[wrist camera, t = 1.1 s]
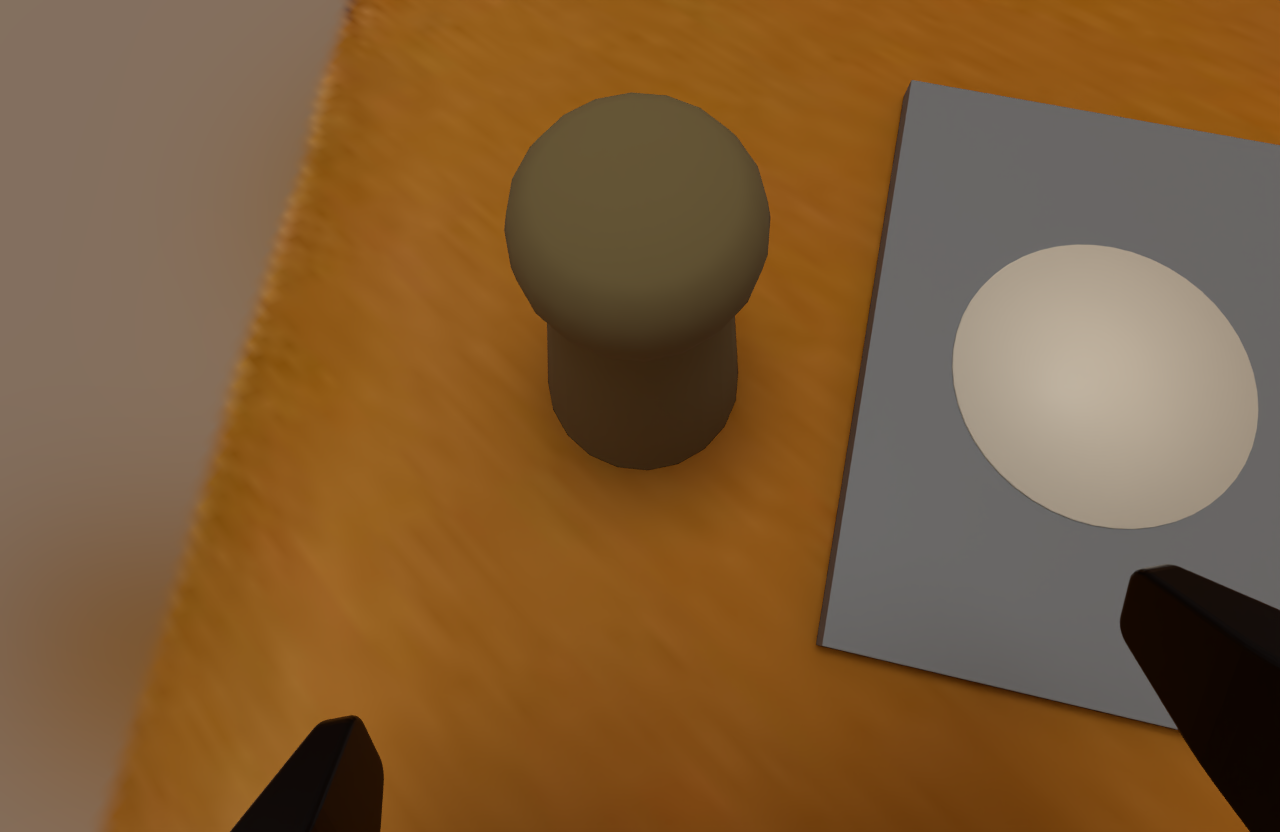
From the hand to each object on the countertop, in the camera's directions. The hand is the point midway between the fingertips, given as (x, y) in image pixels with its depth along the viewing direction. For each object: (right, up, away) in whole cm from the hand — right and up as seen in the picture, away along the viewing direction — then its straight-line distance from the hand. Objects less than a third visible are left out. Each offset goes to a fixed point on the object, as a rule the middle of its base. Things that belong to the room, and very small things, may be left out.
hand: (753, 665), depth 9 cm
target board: (+13, +4, +15) cm, 20 cm away
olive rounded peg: (-1, +4, +15) cm, 16 cm away
